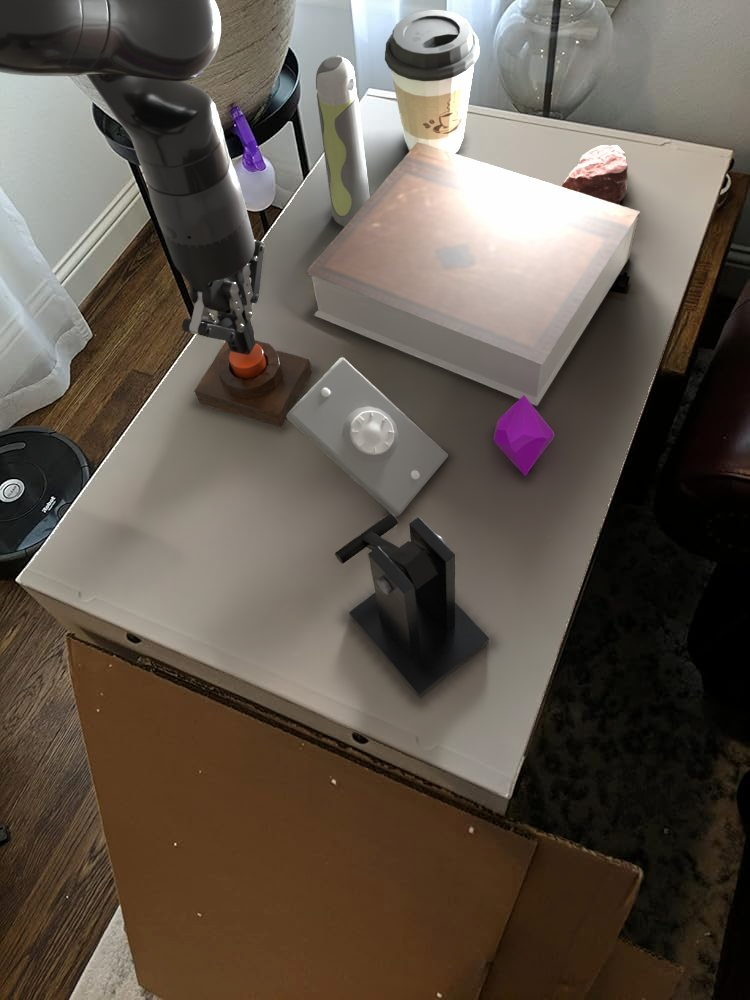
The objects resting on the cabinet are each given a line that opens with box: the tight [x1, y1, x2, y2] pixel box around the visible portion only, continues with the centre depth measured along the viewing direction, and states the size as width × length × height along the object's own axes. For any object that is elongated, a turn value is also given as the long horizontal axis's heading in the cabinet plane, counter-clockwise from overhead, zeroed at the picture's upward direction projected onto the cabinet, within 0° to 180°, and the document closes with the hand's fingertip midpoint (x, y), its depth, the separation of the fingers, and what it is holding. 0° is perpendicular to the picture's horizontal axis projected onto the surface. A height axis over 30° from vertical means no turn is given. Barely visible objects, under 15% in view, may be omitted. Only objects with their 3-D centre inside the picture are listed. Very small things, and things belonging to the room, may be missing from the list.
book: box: [305, 142, 641, 407], centre depth 96 cm, size 24×28×6 cm
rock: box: [561, 144, 629, 205], centre depth 103 cm, size 11×6×8 cm
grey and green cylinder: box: [315, 55, 371, 227], centre depth 98 cm, size 5×5×20 cm
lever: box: [334, 512, 438, 590], centre depth 69 cm, size 10×6×2 cm
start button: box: [229, 344, 266, 379], centre depth 89 cm, size 4×4×2 cm
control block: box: [193, 339, 313, 428], centre depth 92 cm, size 8×10×4 cm
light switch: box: [286, 356, 449, 517], centre depth 85 cm, size 8×6×14 cm
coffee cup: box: [384, 9, 481, 154], centre depth 106 cm, size 11×11×15 cm
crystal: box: [493, 395, 555, 477], centre depth 85 cm, size 5×5×5 cm
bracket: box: [348, 516, 490, 700], centre depth 71 cm, size 10×8×15 cm
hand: (244, 347), depth 88 cm, fingers closed
